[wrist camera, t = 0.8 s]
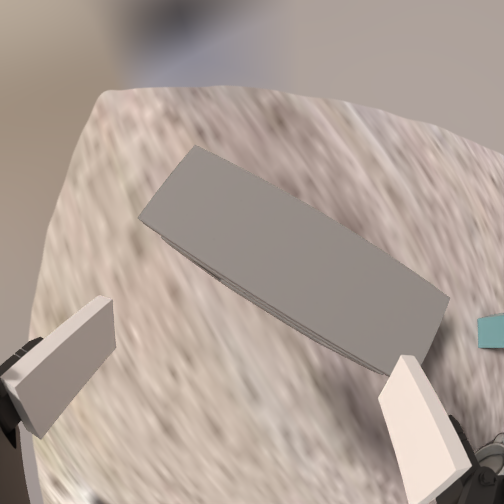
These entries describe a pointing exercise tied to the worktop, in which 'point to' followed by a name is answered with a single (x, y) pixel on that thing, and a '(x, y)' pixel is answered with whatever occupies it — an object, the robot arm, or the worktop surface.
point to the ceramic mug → (493, 455)
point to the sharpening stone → (296, 262)
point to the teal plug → (491, 331)
